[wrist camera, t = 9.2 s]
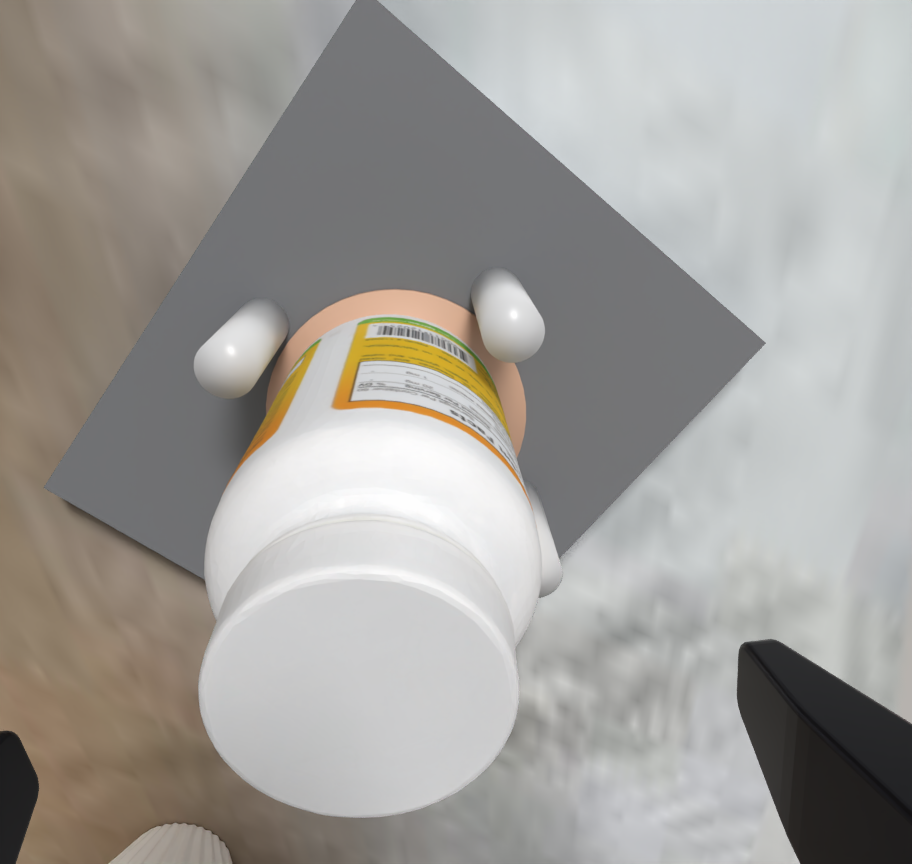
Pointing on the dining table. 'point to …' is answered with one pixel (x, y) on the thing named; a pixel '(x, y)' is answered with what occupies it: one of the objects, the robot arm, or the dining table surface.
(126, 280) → the dining table surface
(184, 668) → the dining table surface
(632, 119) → the dining table surface
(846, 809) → the robot arm
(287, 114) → the pin tray
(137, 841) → the white lump
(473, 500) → the supplement bottle
